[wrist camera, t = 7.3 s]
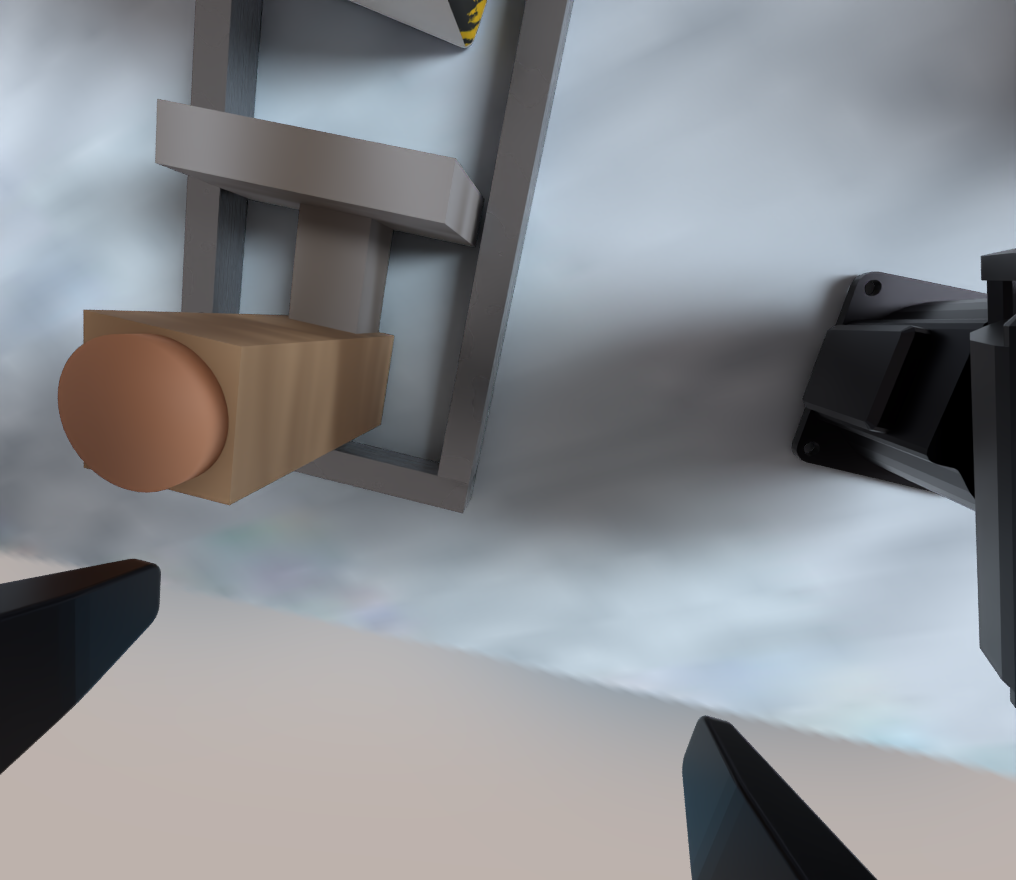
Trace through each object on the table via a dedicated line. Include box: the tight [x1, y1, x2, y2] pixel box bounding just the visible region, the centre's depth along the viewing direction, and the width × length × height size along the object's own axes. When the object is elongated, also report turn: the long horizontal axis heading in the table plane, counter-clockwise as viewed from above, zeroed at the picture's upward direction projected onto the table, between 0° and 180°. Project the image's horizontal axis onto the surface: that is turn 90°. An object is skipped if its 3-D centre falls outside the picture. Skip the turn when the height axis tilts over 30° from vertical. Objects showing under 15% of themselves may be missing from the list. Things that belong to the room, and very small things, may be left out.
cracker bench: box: [181, 0, 574, 513], centre depth 14 cm, size 12×26×7 cm, turn 168°
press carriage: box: [58, 99, 484, 505], centre depth 14 cm, size 8×9×10 cm
